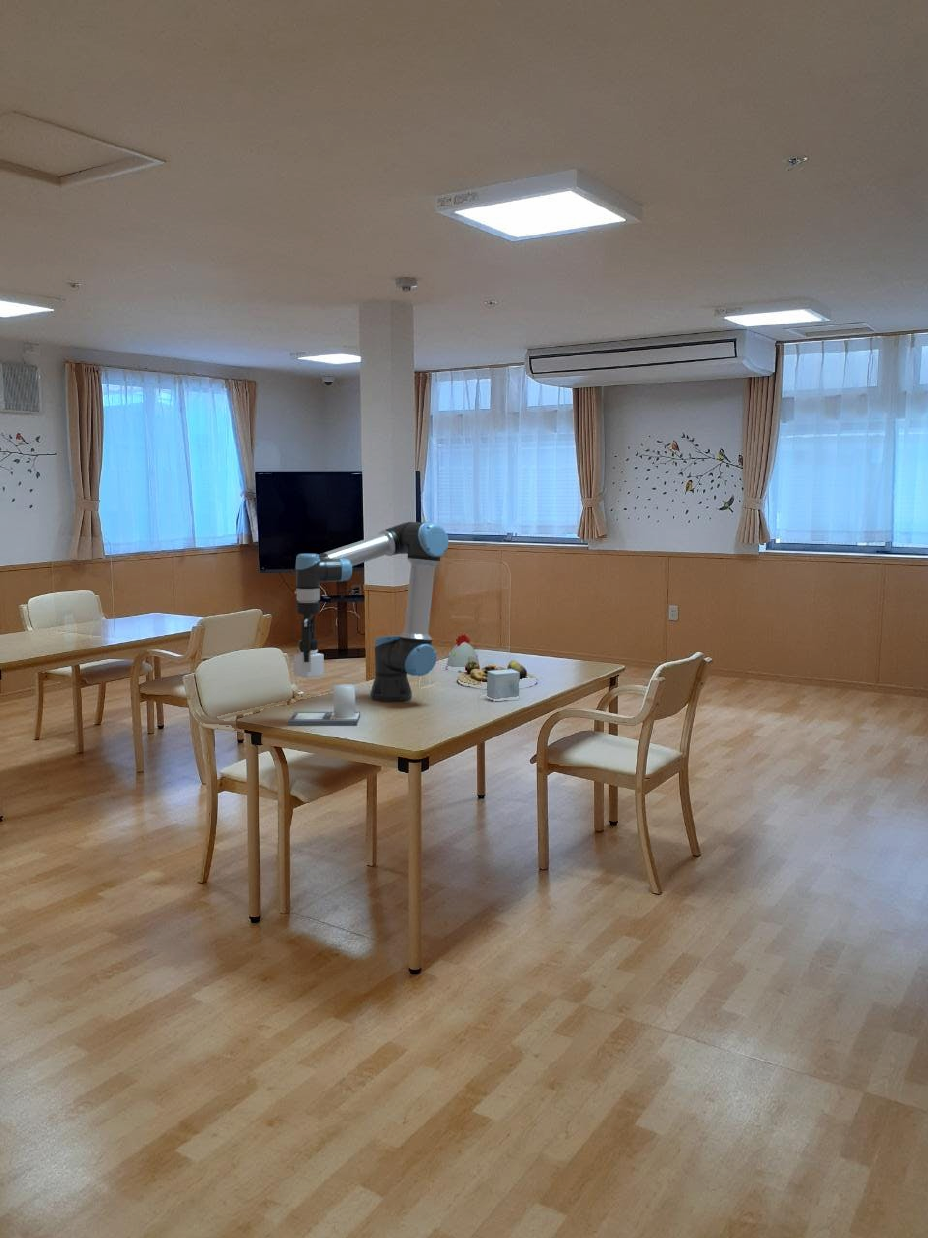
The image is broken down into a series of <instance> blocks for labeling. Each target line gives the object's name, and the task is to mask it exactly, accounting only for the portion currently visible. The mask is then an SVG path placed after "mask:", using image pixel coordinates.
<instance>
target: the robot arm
mask: <svg viewBox="0 0 928 1238" xmlns="http://www.w3.org/2000/svg"><path fill="white" fill-rule="evenodd" d="M448 548H449V536H448V534H447V532H446V530H445V529H444V527H443V526H442V525H440V524H438V523H435V522H429V521H428V522H427V521H426V522H423V521H422V522H419V521H418V522H417V521H408V522H407V521H406V522H403V523H400V524H397V525H394V526H391V527H389V528H386V529H384V530H381V531H380V532H379V533H378V534H377V535H374V536H371V537H367V538H365V539H362V540H359V541H357V542H356V541H355V542H352V543H350V544H347V545H343V546H341V547H338V548H334V549H332V550H328V551H326V552H323V553H320V554H318V553H299V554H297V555H296V557H295V558H296V559H295V585H296V586H295V587H296V589H295V591H294V594H295V595H296V601H297V602H296V603H295V605H296V606H295V607H296V613H297V614H298V615H303V618H302V619H301V640H302V648H301V650H300V652H302V664H303V672H311V652H310V651H311V650H310V646H311V639H315V640H316V625H315V623H316V618H315V615H319V614H320V612H321V608H320V607H321V603H320V600H321V590H320V589H321V588H320V583H330V582H333V583H334V582H339V583H341V582H345V581H349V580H350V579H351V577H352V574H353V567H354V566H357V565H360V564H363V563H365V562H368V561H369V562H370V561H371V560H374V559H377V558H380V557H383V556H386V557H387V556H388V557H392V556H395V555H403V554H404V555H406V554H407V557H406V559H407V561H408V563H410V571H409V580H408V581H409V582H408V591H407V592H408V593H407V601H406V602H407V603H406V611H405V623H404V630H403V632H402V633H401V634H397V635H396V634H393V635H385V636H384V635H383V636H378V637H376V638H375V641H374V680H373V684H372V686H371V689H370V699H371V700H373V701H378V702H389V703H390V702H402V701H407V700H412V697H413V691H412V689H411V685H410V681H409V680H408V675H410V676H412V677H413V676H415V677H422V676H426V675H428V674H429V673H430V672H432V670H433V669H434V668H435V665H436V663H437V661H438V660H437V656H438V654H437V651H436V650H435V647H433V646H432V645H433V638H432V637H431V636H430V634H429V632H430V631H429V630H430V623H431V622H430V621H431V611H432V601H433V592H434V589H433V588H434V580H435V572H436V566H438V565H439V564H440V562H441V557H442V556H443V555H444V554H445V552H447V550H448ZM300 652H299V653H300Z"/></svg>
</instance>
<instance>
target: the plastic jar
mask: <svg viewBox="0 0 928 1238" xmlns="http://www.w3.org/2000/svg"><path fill="white" fill-rule="evenodd" d="M333 712H334V717H336V718H352V717H355V712H356V686H355V684H353V683H352V684H351V683H340V684H334V685H333Z"/></svg>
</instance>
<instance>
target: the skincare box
mask: <svg viewBox="0 0 928 1238" xmlns="http://www.w3.org/2000/svg"><path fill="white" fill-rule="evenodd" d="M487 673H488V676H487V689H486V697H487V696H488V697H490V698H492V699H500V698H509V697H517V696H519V697H520V689H519V682H520V672H518V671H515V670H513V669H509V670H507V669H506V670H495V671H488V672H487Z"/></svg>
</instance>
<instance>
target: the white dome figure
mask: <svg viewBox="0 0 928 1238" xmlns="http://www.w3.org/2000/svg"><path fill="white" fill-rule="evenodd" d="M455 640H456V645H455V646H454V647H452V650H451V651H449V653H448V655H447V658H448V659H447V663H446V666H447V665H448V666H451V667H465V666H466V664H467V663H468V662H469V661H475V662H477V663H478V664H479V665H480V661H479V655H478V654H477V651H475V649H474V647H473V646H472V645H471V644H470V642H471V641H470V640H471V639H470V638H469V637H468V636H466V634H461V635H458V636H457V638H456V639H455Z"/></svg>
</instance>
